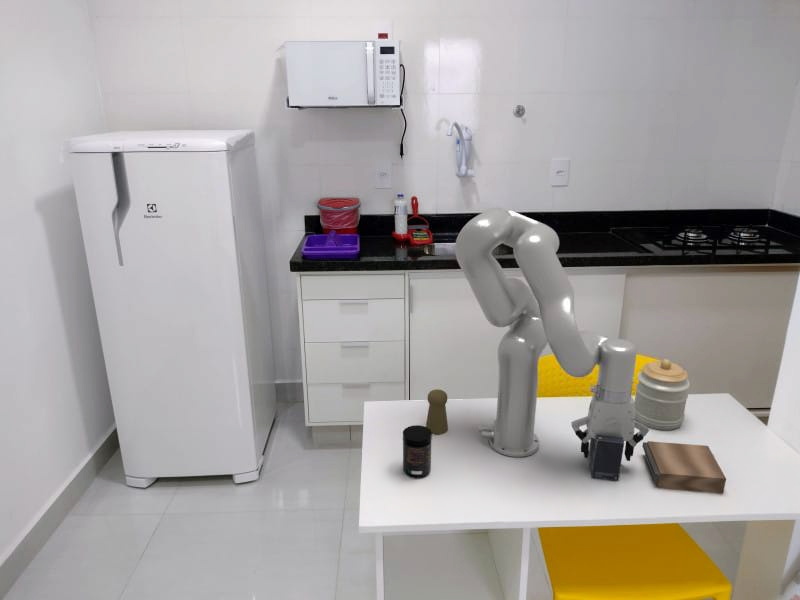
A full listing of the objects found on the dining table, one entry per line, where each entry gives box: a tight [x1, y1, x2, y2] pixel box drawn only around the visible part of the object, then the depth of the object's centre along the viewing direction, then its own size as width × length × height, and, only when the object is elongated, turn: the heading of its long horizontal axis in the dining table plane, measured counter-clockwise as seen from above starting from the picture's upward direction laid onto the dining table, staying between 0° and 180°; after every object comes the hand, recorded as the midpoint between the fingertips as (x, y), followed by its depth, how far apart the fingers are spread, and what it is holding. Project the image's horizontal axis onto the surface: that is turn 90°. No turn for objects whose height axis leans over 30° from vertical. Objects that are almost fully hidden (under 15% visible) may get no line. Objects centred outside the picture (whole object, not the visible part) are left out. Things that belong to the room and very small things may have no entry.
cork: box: [425, 389, 449, 436], centre depth 163 cm, size 6×6×11 cm
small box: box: [588, 435, 625, 482], centre depth 148 cm, size 11×6×10 cm, turn 168°
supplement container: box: [402, 424, 433, 479], centre depth 146 cm, size 7×7×10 cm
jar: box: [634, 358, 691, 431], centre depth 167 cm, size 13×13×18 cm
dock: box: [641, 440, 727, 494], centre depth 146 cm, size 15×13×4 cm
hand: (606, 456), depth 148 cm, fingers open, 9 cm apart
